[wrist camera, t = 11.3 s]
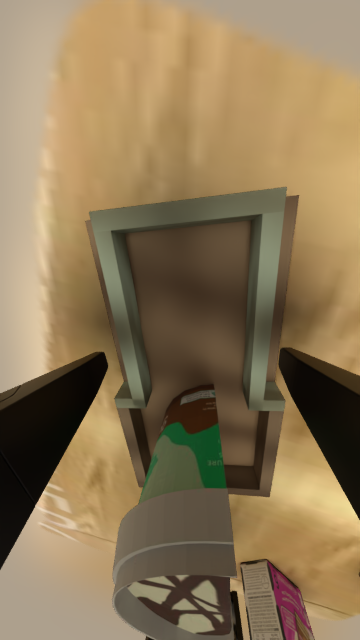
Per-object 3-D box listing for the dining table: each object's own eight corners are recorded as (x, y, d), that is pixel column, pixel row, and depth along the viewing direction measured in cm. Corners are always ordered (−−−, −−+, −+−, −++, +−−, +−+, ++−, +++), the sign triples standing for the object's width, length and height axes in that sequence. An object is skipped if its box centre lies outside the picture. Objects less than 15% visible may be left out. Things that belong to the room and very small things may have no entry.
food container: (142, 371, 16) (59, 549, 6) (213, 369, 15) (237, 570, 6) (162, 462, 20) (130, 647, 11) (218, 464, 19) (236, 666, 10)
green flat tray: (261, 467, 19) (269, 497, 17) (145, 460, 21) (138, 487, 19) (294, 197, 10) (321, 182, 8) (89, 221, 12) (63, 215, 10)
